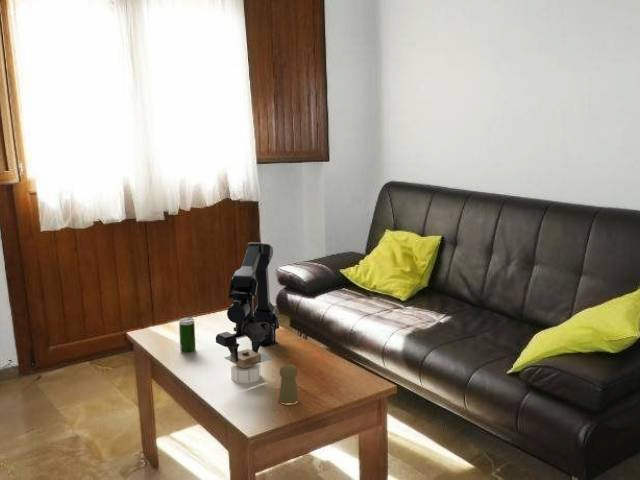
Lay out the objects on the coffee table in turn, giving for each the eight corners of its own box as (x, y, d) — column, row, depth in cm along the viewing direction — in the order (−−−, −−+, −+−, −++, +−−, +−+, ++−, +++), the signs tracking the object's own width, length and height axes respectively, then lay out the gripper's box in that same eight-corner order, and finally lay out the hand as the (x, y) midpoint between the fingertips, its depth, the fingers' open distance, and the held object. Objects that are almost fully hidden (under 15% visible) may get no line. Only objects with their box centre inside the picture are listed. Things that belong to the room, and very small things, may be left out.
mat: (252, 350, 238) (252, 349, 238) (272, 359, 229) (272, 358, 229) (223, 358, 230) (223, 357, 230) (243, 368, 221) (243, 367, 221)
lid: (248, 356, 217) (248, 346, 217) (261, 362, 212) (260, 352, 212) (230, 361, 213) (230, 352, 212) (243, 367, 208) (242, 358, 207)
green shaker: (278, 397, 200) (277, 362, 198) (298, 396, 201) (298, 362, 199) (278, 405, 194) (278, 370, 192) (299, 405, 195) (299, 370, 193)
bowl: (249, 370, 220) (249, 357, 219) (265, 378, 213) (265, 365, 212) (226, 378, 214) (226, 364, 213) (242, 386, 208) (242, 373, 207)
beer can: (183, 355, 233) (182, 323, 231) (178, 351, 237) (176, 319, 235) (198, 352, 236) (196, 320, 234) (192, 348, 240) (190, 316, 238)
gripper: (234, 325, 197) (235, 374, 201) (283, 312, 209) (284, 359, 213) (214, 316, 205) (215, 364, 209) (262, 304, 218) (263, 349, 221)
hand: (245, 359), depth 212 cm, fingers closed on lid, 7 cm apart
